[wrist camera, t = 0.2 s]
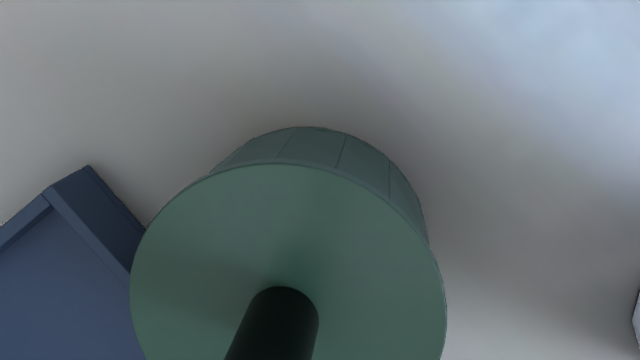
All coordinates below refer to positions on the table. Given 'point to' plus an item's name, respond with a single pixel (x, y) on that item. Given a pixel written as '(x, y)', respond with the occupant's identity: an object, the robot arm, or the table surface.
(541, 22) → the table surface
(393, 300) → the lid
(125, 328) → the tray
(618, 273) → the table surface
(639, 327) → the white cup
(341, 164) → the pot
